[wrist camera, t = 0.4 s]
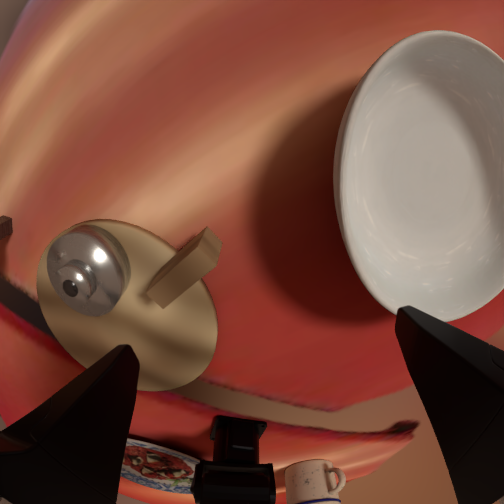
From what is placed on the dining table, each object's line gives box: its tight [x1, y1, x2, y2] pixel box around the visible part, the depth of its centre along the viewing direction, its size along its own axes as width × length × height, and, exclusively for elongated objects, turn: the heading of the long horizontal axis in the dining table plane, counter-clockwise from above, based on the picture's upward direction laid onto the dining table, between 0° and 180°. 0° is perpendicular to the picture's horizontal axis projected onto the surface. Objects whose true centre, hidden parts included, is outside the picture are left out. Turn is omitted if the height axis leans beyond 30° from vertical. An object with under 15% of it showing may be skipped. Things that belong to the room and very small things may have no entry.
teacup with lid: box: [285, 460, 346, 504], centre depth 33 cm, size 12×9×12 cm
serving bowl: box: [333, 30, 504, 322], centre depth 17 cm, size 21×21×7 cm
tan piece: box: [37, 219, 223, 391], centre depth 22 cm, size 21×19×5 cm
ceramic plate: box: [121, 438, 200, 494], centre depth 38 cm, size 26×26×3 cm
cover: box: [47, 224, 131, 316], centre depth 19 cm, size 7×7×4 cm
